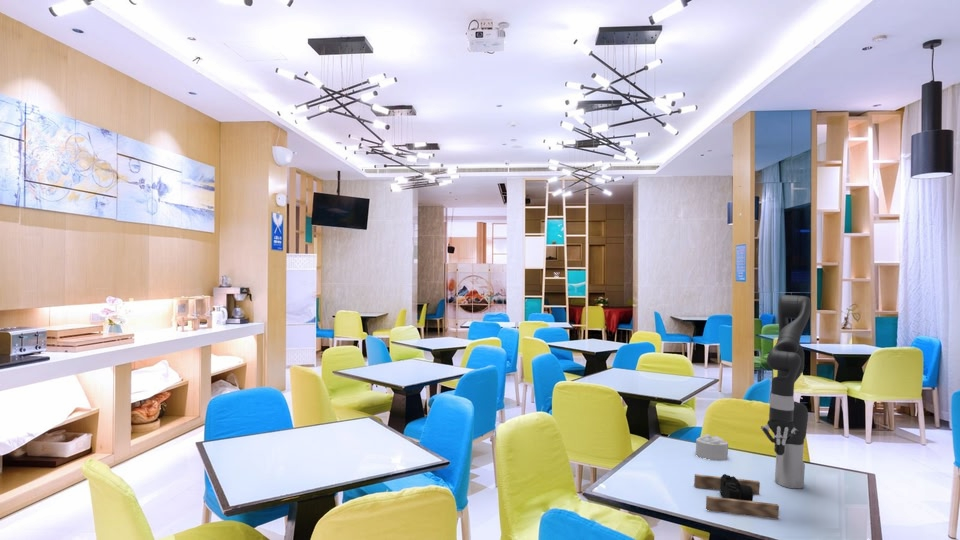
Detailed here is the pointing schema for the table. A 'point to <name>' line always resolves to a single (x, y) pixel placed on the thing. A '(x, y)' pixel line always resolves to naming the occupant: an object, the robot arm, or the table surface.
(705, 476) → the walnut chute
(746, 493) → the film camera
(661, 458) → the table surface
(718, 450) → the lumpy-topped squat cylinder
